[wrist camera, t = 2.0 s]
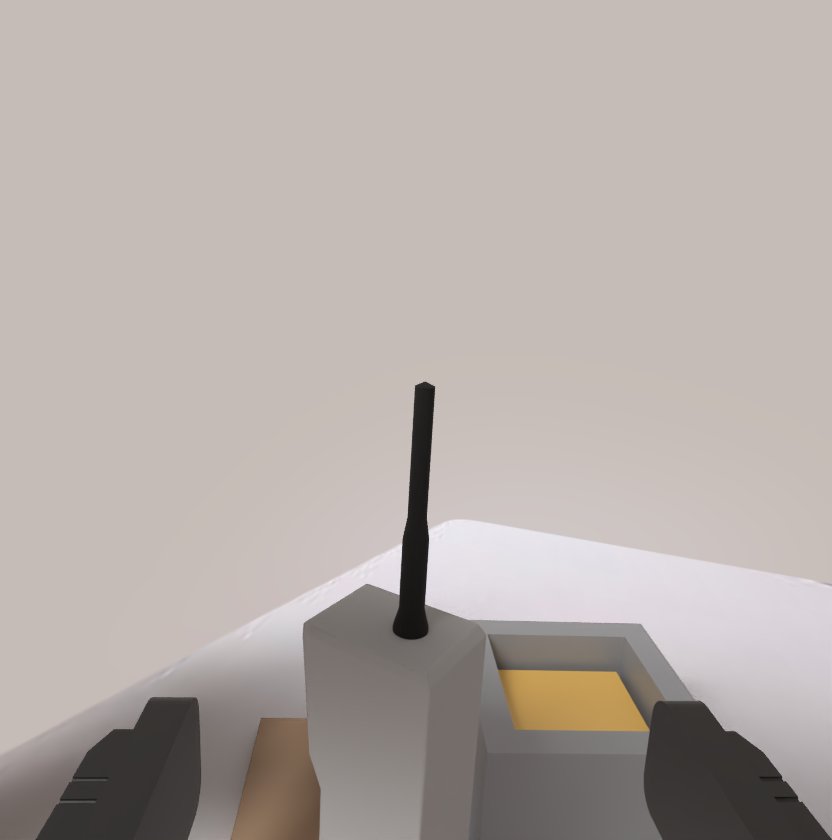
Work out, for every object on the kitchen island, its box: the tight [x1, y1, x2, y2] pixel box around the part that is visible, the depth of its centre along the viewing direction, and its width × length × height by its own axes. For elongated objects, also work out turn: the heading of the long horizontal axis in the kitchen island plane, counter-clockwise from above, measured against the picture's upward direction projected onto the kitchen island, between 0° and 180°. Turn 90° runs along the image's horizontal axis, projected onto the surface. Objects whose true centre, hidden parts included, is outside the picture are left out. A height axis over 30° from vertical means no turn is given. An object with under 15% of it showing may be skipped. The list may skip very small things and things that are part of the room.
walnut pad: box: [231, 718, 321, 840], centre depth 37 cm, size 9×10×1 cm
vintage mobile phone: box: [303, 382, 486, 840], centre depth 24 cm, size 4×5×25 cm
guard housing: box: [468, 620, 695, 840], centre depth 36 cm, size 15×14×8 cm
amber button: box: [498, 670, 650, 731], centre depth 36 cm, size 7×7×3 cm
